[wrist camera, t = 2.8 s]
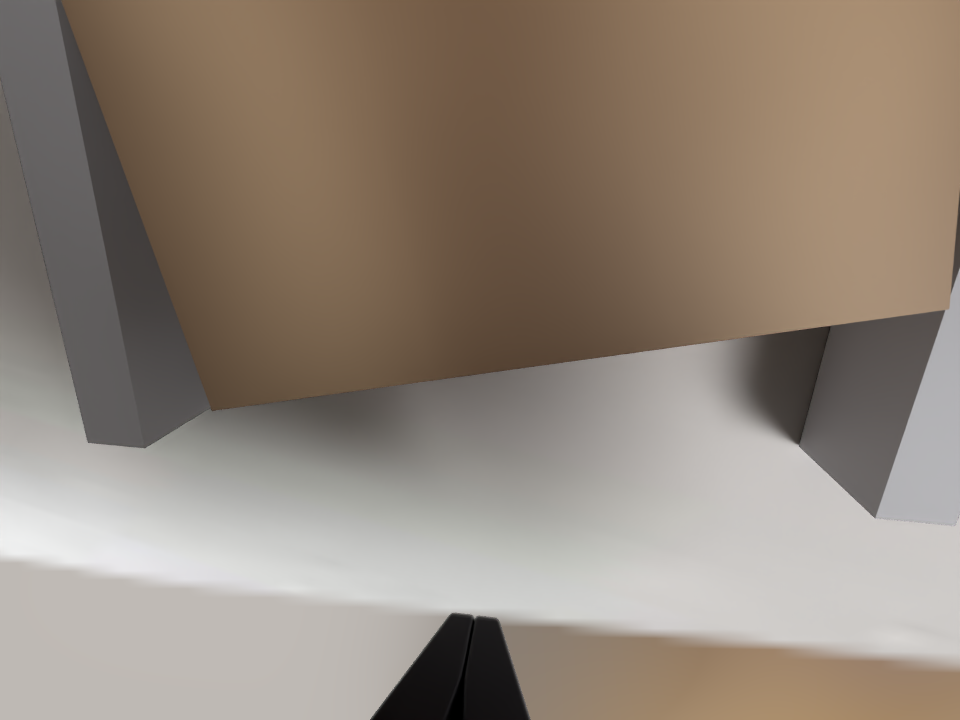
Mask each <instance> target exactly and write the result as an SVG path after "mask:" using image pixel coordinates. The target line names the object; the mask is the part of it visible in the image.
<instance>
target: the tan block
mask: <svg viewBox="0 0 960 720" xmlns="http://www.w3.org/2000/svg"><path fill="white" fill-rule="evenodd" d="M61 1H62V4H63V7H64V10H65V12H66V15H67V18H68V21H69V23H70V26H71V29H72V31H73V34H74V37H75V40H76V42H77V45H78V48H79V50H80V53H81V56H82V59H83V61H84V64H85V67H86V69H87V72H88V75H89V78H90V80H91V83H92V86H93V89H94V91H95V94H96V97H97V99H98V102H99V105H100V108H101V110H102V113H103V116H104V118H105V121H106V124H107V127H108V129H109V132H110V135H111V138H112V140H113V143H114V146H115V148H116V151H117V154H118V157H119V159H120V162H121V165H122V167H123V170H124V173H125V176H126V178H127V181H128V184H129V187H130V189H131V192H132V195H133V197H134V200H135V203H136V206H137V208H138V211H139V214H140V216H141V219H142V222H143V225H144V227H145V230H146V233H147V235H148V238H149V241H150V244H151V246H152V249H153V252H154V255H155V257H156V260H157V263H158V265H159V268H160V271H161V274H162V276H163V279H164V282H165V284H166V287H167V290H168V293H169V295H170V298H171V301H172V304H173V306H174V309H175V312H176V314H177V317H178V320H179V323H180V325H181V328H182V331H183V333H184V336H185V339H186V342H187V344H188V347H189V350H190V353H191V355H192V358H193V361H194V363H195V366H196V369H197V372H198V374H199V377H200V380H201V382H202V385H203V388H204V391H205V393H206V396H207V399H208V401H209V404H210V407H211V410H212V411H215V410H222V409H229V408H236V407H244V406H251V405H258V404H265V403H273V402H280V401H287V400H294V399H302V398H309V397H316V396H324V395H331V394H338V393H345V392H353V391H360V390H367V389H374V388H382V387H389V386H396V385H403V384H411V383H418V382H425V381H433V380H440V379H447V378H454V377H462V376H469V375H476V374H483V373H491V372H498V371H505V370H512V369H520V368H527V367H534V366H542V365H549V364H556V363H563V362H571V361H578V360H585V359H592V358H600V357H607V356H614V355H621V354H629V353H636V352H643V351H650V350H658V349H665V348H672V347H680V346H687V345H694V344H701V343H709V342H716V341H723V340H730V339H738V338H745V337H752V336H759V335H767V334H774V333H781V332H789V331H796V330H803V329H810V328H818V327H825V326H832V325H839V324H847V323H854V322H861V321H868V320H876V319H883V318H890V317H898V316H905V315H912V314H919V313H927V312H934V311H941V310H948V309H949V307H950V296H951V284H952V273H953V261H954V250H955V239H956V227H957V216H958V204H959V193H960V0H61Z"/></svg>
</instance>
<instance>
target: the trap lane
mask: <svg viewBox="0 0 960 720" xmlns="http://www.w3.org/2000/svg"><path fill="white" fill-rule="evenodd" d="M0 78H1V82H2V86H3V91H4V95H5V99H6V103H7V107H8V112H9V116H10V120H11V124H12V128H13V132H14V137H15V141H16V145H17V149H18V153H19V157H20V162H21V166H22V170H23V174H24V178H25V182H26V187H27V191H28V195H29V199H30V203H31V207H32V212H33V216H34V220H35V224H36V228H37V232H38V237H39V241H40V245H41V249H42V253H43V257H44V262H45V266H46V270H47V274H48V278H49V282H50V287H51V291H52V295H53V299H54V303H55V307H56V312H57V316H58V320H59V324H60V328H61V333H62V337H63V341H64V345H65V349H66V353H67V358H68V362H69V366H70V370H71V374H72V378H73V383H74V387H75V391H76V395H77V399H78V403H79V408H80V412H81V416H82V420H83V424H84V428H85V433H86V437H87V441H88V443H96V444H107V445H117V446H128V447H138V448H146V447H148V446H149V445H151V444H152V443H154V442H156V441H157V440H159V439H161V438H162V437H164V436H165V435H167V434H169V433H170V432H172V431H174V430H175V429H177V428H178V427H180V426H182V425H183V424H185V423H186V422H188V421H190V420H191V419H193V418H195V417H196V416H198V415H199V414H201V413H203V412H204V411H206V410H208V409H209V408H211V407H210V404H209V401H208V399H207V396H206V393H205V391H204V388H203V385H202V382H201V380H200V377H199V374H198V372H197V369H196V366H195V363H194V361H193V358H192V355H191V353H190V350H189V347H188V344H187V342H186V339H185V336H184V333H183V331H182V328H181V325H180V323H179V320H178V317H177V314H176V312H175V309H174V306H173V304H172V301H171V298H170V295H169V293H168V290H167V287H166V284H165V282H164V279H163V276H162V274H161V271H160V268H159V265H158V263H157V260H156V257H155V255H154V252H153V249H152V246H151V244H150V241H149V238H148V235H147V233H146V230H145V227H144V225H143V222H142V219H141V216H140V214H139V211H138V208H137V206H136V203H135V200H134V197H133V195H132V192H131V189H130V187H129V184H128V181H127V178H126V176H125V173H124V170H123V167H122V165H121V162H120V159H119V157H118V154H117V151H116V148H115V146H114V143H113V140H112V138H111V135H110V132H109V129H108V127H107V124H106V121H105V118H104V116H103V113H102V110H101V108H100V105H99V102H98V99H97V97H96V94H95V91H94V89H93V86H92V83H91V80H90V78H89V75H88V72H87V69H86V67H85V64H84V61H83V59H82V56H81V53H80V50H79V48H78V45H77V42H76V40H75V37H74V34H73V31H72V29H71V26H70V23H69V21H68V18H67V15H66V12H65V10H64V7H63V4H62V1H61V0H0ZM799 447H800V448H801V449H802V450H803V451H804V452H805V453H806V454H808V455H809V456H810V457H811V458H812V459H813V460H814V461H815V462H816V463H817V464H818V465H819V466H820V467H821V468H822V469H823V470H824V471H826V472H827V473H828V474H829V475H830V476H831V477H832V478H833V479H834V480H835V481H836V482H837V483H838V484H839V485H840V486H841V487H842V488H844V489H845V490H846V491H847V492H848V493H849V494H850V495H851V496H852V497H853V498H854V499H855V500H856V501H857V502H858V503H859V504H861V505H862V506H863V507H864V508H865V509H866V510H867V511H868V512H869V513H870V514H871V515H872V516H873V517H874V518H876V519H887V520H897V521H908V522H918V523H928V524H939V525H949V526H955V525H956V523H957V520H958V518H959V515H960V193H959V204H958V216H957V227H956V239H955V250H954V261H953V273H952V284H951V296H950V307H949V309H948V310H941V311H934V312H927V313H919V314H912V315H905V316H898V317H890V318H883V319H876V320H868V321H861V322H854V323H847V324H839V325H832V326H831V328H830V332H829V335H828V339H827V343H826V347H825V350H824V354H823V358H822V362H821V365H820V369H819V373H818V377H817V380H816V384H815V388H814V392H813V395H812V399H811V403H810V407H809V411H808V414H807V418H806V422H805V426H804V429H803V433H802V437H801V441H800V444H799Z"/></svg>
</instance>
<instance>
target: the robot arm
mask: <svg viewBox="0 0 960 720" xmlns="http://www.w3.org/2000/svg"><path fill="white" fill-rule="evenodd" d="M370 720H531V719H530V716H529V713H528V710H527V707H526V704H525V701H524V697H523V694H522V691H521V688H520V684H519V681H518V678H517V675H516V672H515V669H514V665H513V662H512V659H511V656H510V653H509V650H508V646H507V644H506V640H505V637H504V634H503V631H502V627H501V624H500V622H499V620H498V619H497V618H494V617H486V616H477V617H476V618H475V619H474V617H473V616H472V615H470V614H462V613H452V614H450V615H449V616H448V618H447V619H446V620H445V622H444V623H443V624H442V626H441V627H440V628H439V630H438V631H437V632H436V634H435V635H434V636H433V637H432V639H431V640H430V641H429V643H428V644H427V646H426V647H425V648H424V649H423V651H422V652H421V653H420V655H419V656H418V657H417V659H416V660H415V661H414V662H413V664H412V665H411V667H410V668H409V669H408V670H407V672H406V673H405V674H404V676H403V677H402V678H401V680H400V681H399V682H398V684H397V685H396V686H395V687H394V689H393V690H392V691H391V693H390V694H389V695H388V697H387V698H386V699H385V701H384V702H383V703H382V705H381V706H380V707H379V709H378V710H377V711H376V712H375V714H374V715H373V716H372V718H371V719H370Z"/></svg>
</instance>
